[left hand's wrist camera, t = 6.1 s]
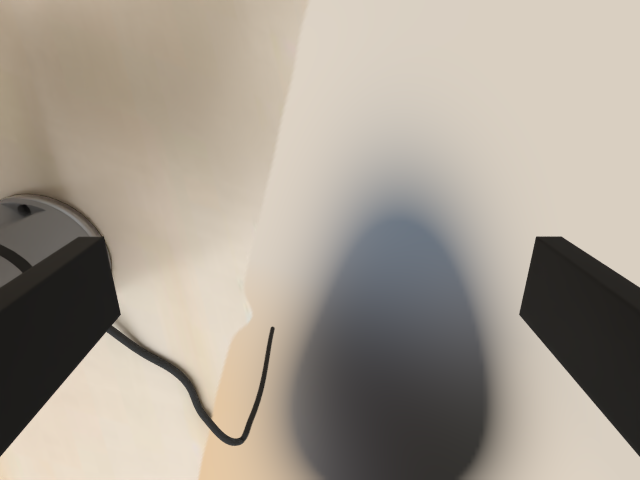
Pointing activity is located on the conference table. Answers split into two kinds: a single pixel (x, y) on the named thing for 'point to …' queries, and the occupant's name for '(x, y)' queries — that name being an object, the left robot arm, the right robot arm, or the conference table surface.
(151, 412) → the conference table surface
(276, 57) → the conference table surface
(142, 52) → the conference table surface
